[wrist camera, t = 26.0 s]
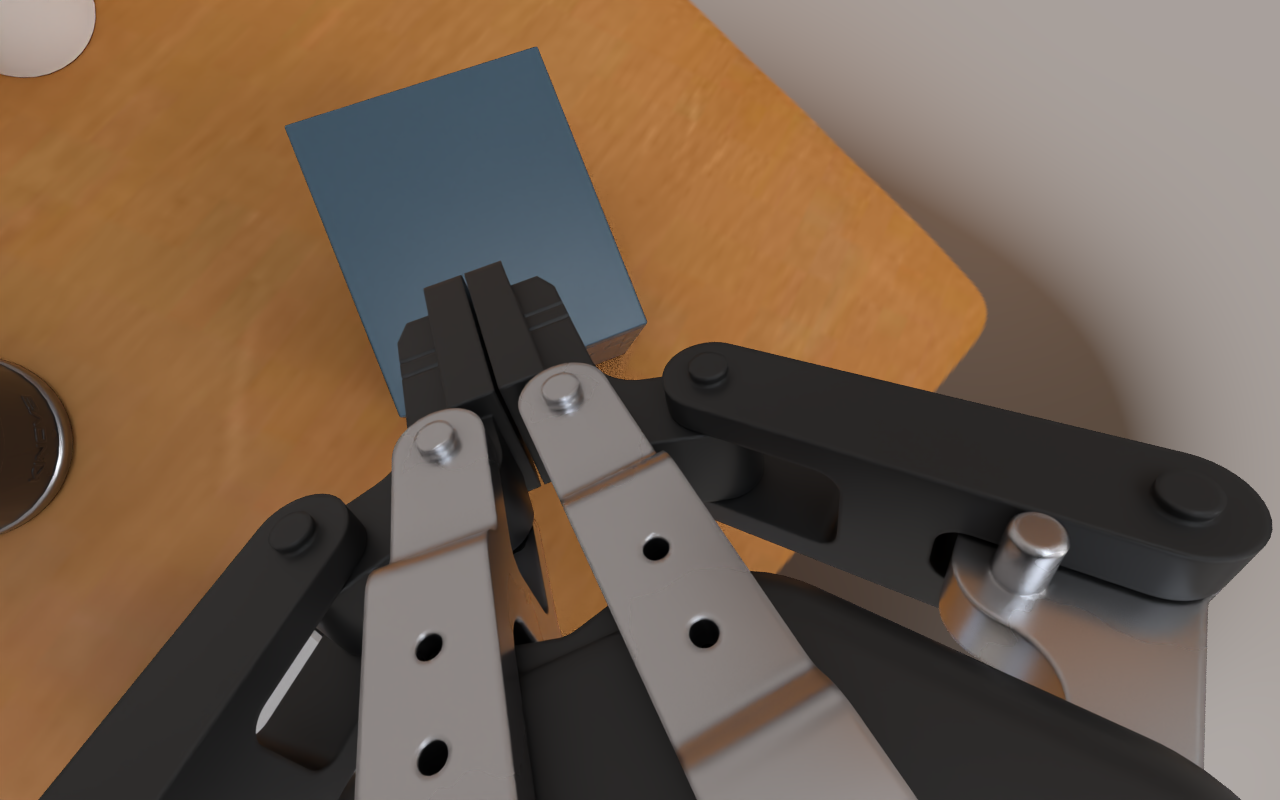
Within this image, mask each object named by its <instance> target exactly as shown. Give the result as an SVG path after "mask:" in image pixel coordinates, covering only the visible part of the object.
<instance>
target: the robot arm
mask: <svg viewBox="0 0 1280 800" xmlns="http://www.w3.org/2000/svg"><path fill="white" fill-rule="evenodd" d="M464 275H465V279H466V282H467V285H466V283H465V280H464V279H463V277H462V275H459V276H456V277H454V278H451V279H448V280H445V281H442V282H440V283H437V284H434V285H431V286H428V287H426V288H424V289H423V290H424V296H425V301H426V306H427V311H428V316H425V317H423V318H420V319H417V320H414V321H412V322H409V323H406V325H405V328H404V330H403V332H402V334H401V336H400V338H399V341H398V343H397V346H398V354H399V362H400V364H401V365H400V370H401V377H402V379H403V380H402V387H403V395H404V403H405V412H406V420H407V428H408V429H407V430H406V431H405V432H404V433H403V434H402V435H401V437H400V438H399V439H398V441H397V443H396V445H395V447H394V450H393V454H392V471H391V472H390V474H388V475H387V476H386V477H385V478H384V479H383V480H382V481H380V482H379V483H378V484H376V485H375V486H374V487H372V488H371V489H369V490H368V491H366V492H365V493H363V494H362V495H360V496H359V497H357V498H356V499H354V500H353V501H351V502H350V503H348V504H347V505H345V504H344V503H343V502H342V500H341V499H339V498H337V497H336V496H333V495H330V494H314V495H309V496H305V497H302V498H300V499H297V500H295V501H293V502H291V503H289V504H287V505H286V506H284V507H282V508H281V509H279V510H278V511H277V512H275V513H274V514H273V515H272V516H271V517H269V518H268V519H267V520H266V521H265V522H264V523H263V524H262V526H261V527H260V528H259V529H258V530H257V531H256V533H255V534H254V535H253V536H252V538H251V539H250V540H249V541H248V543H247V544H246V545H245V546H244V547H243V549H242V550H241V551H240V552H239V554H238V555H237V556H236V557H235V559H234V560H233V561H232V562H231V563H230V565H229V566H228V567H227V568H226V570H225V571H224V572H223V573H222V575H221V576H220V577H219V578H218V579H217V581H216V582H215V583H214V584H213V586H212V587H211V588H210V589H209V591H208V592H207V593H206V594H205V595H204V597H203V598H202V599H201V600H200V602H199V603H198V604H197V605H196V607H195V608H194V609H193V610H192V611H191V613H190V614H189V615H188V616H187V618H186V619H185V620H184V621H183V623H182V624H181V625H180V626H179V627H178V629H177V630H176V631H175V632H174V634H173V635H172V636H171V637H170V639H169V640H168V641H167V642H166V643H165V645H164V646H163V647H162V648H161V650H160V651H159V652H158V653H157V655H156V656H155V657H154V658H153V659H152V661H151V662H150V663H149V664H148V666H147V667H146V668H145V669H144V671H143V672H142V673H141V674H140V675H139V677H138V678H137V679H136V680H135V682H134V683H133V684H132V685H131V687H130V688H129V689H128V690H127V692H126V693H125V694H124V695H123V696H122V698H121V699H120V700H119V701H118V703H117V704H116V705H115V706H114V708H113V709H112V710H111V711H110V712H109V714H108V715H107V716H106V717H105V719H104V720H103V721H102V722H101V724H100V725H99V726H98V727H97V728H96V730H95V731H94V732H93V733H92V735H91V736H90V737H89V738H88V740H87V741H86V742H85V743H84V744H83V746H82V747H81V748H80V749H79V751H78V752H77V753H76V754H75V756H74V757H73V758H72V759H71V760H70V762H69V763H68V764H67V765H66V767H65V768H64V769H63V770H62V772H61V773H60V774H59V775H58V776H57V778H56V779H55V780H54V781H53V783H52V784H51V785H50V786H49V788H48V789H47V790H46V791H45V792H44V794H43V795H42V796H41V797H40V799H39V800H1241V799H1240V798H1238V797H1237V796H1236V795H1235V794H1234V793H1233V792H1232V791H1231V790H1229V789H1228V788H1227V787H1226V786H1224V785H1223V784H1222V783H1220V782H1219V781H1218V780H1217V779H1215V778H1214V777H1212V776H1211V775H1210V774H1209V773H1207V772H1206V771H1205V770H1204V740H1205V701H1206V662H1207V660H1206V659H1207V624H1208V621H1207V620H1208V605H1209V602H1210V601H1211V600H1212V599H1213V598H1214V597H1215V596H1216V595H1217V594H1218V593H1219V592H1220V591H1221V590H1222V588H1224V587H1225V586H1226V585H1227V584H1228V583H1229V582H1230V581H1231V580H1232V579H1233V578H1234V577H1235V576H1236V575H1237V574H1238V573H1239V572H1240V571H1241V570H1242V569H1243V568H1244V567H1245V566H1246V565H1247V564H1248V562H1250V561H1251V560H1252V558H1253V557H1255V555H1256V554H1257V553H1258V552H1259V551H1260V550H1261V549H1262V548H1263V547H1264V546H1265V545H1266V544H1267V542H1268V541H1269V539H1270V537H1271V533H1272V519H1271V516H1270V513H1269V510H1268V508H1267V506H1266V505H1265V503H1264V501H1263V500H1262V499H1261V497H1260V496H1259V495H1258V494H1257V492H1256V491H1255V490H1254V489H1253V488H1252V487H1250V485H1249V484H1247V483H1246V482H1245V481H1244V480H1242V479H1241V478H1240V477H1238V476H1237V475H1236V474H1234V473H1232V472H1230V471H1229V470H1227V469H1226V468H1224V467H1222V466H1220V465H1218V464H1216V463H1214V462H1212V461H1209V460H1206V459H1204V458H1201V457H1198V456H1195V455H1191V454H1188V453H1184V452H1180V451H1175V450H1171V449H1167V448H1163V447H1159V446H1155V445H1151V444H1146V443H1142V442H1138V441H1134V440H1130V439H1125V438H1121V437H1117V436H1113V435H1109V434H1105V433H1100V432H1096V431H1092V430H1088V429H1084V428H1080V427H1075V426H1071V425H1067V424H1062V423H1059V422H1054V421H1050V420H1046V419H1042V418H1038V417H1034V416H1029V415H1025V414H1021V413H1016V412H1013V411H1009V410H1004V409H1000V408H996V407H992V406H987V405H983V404H979V403H975V402H971V401H966V400H963V399H958V398H954V397H950V396H945V395H941V394H937V393H933V392H929V391H925V390H921V389H917V388H912V387H908V386H904V385H900V384H896V383H892V382H887V381H883V380H879V379H875V378H871V377H866V376H862V375H858V374H854V373H850V372H846V371H841V370H837V369H833V368H829V367H825V366H820V365H816V364H812V363H808V362H804V361H800V360H795V359H791V358H787V357H783V356H779V355H774V354H770V353H766V352H762V351H758V350H754V349H749V348H745V347H741V346H737V345H733V344H728V343H722V342H709V343H702V344H697V345H694V346H691V347H689V348H686V349H684V350H682V351H681V352H679V353H678V354H676V355H675V356H674V357H673V358H672V359H671V360H670V361H669V362H668V363H667V365H666V367H665V369H664V371H663V375H662V377H657V378H650V379H643V380H623V379H617V378H614V377H611V376H608V375H606V374H604V373H603V372H601V371H600V370H599V369H598V368H597V367H596V366H595V364H594V363H593V361H592V359H591V357H590V355H589V353H588V351H587V349H586V347H585V345H584V343H583V341H582V339H581V337H580V335H579V333H578V331H577V330H576V328H575V326H574V324H573V322H572V320H571V318H570V316H569V314H568V312H567V310H566V308H565V306H564V304H563V302H562V300H561V298H560V296H559V294H558V292H557V290H556V288H555V286H554V285H552V284H551V283H549V282H547V281H545V280H544V279H542V278H540V277H538V276H535V277H532V278H530V279H527V280H524V281H521V282H519V283H516V284H513V285H510V282H509V280H508V277H507V275H506V272H505V270H504V267H503V265H502V262H501V261H498V262H495V263H492V264H490V265H487V266H484V267H481V268H478V269H476V270H473V271H470V272H467V273H464ZM467 286H468V287H467ZM72 449H73V438H72V430H71V425H70V421H69V418H68V415H67V413H66V410H65V408H64V406H63V404H62V403H61V401H60V399H59V398H58V396H57V395H56V394H55V393H54V391H53V390H52V389H51V388H50V387H49V386H48V385H47V384H46V383H45V382H44V381H43V380H42V379H40V378H39V377H38V376H37V375H35V374H34V373H32V372H31V371H29V370H27V369H25V368H23V367H21V366H19V365H16V364H14V363H11V362H8V361H5V360H1V359H0V534H3V533H5V532H8V531H11V530H13V529H15V528H17V527H19V526H21V525H23V524H24V523H26V522H28V521H29V520H31V519H32V518H33V517H35V516H36V515H37V514H38V513H40V512H41V511H42V510H43V509H44V508H45V507H46V506H47V505H48V504H49V503H50V502H51V500H52V499H53V498H54V497H55V495H56V494H57V492H58V491H59V489H60V488H61V486H62V484H63V482H64V480H65V478H66V475H67V473H68V470H69V466H70V463H71V458H72ZM533 461H534V462H533ZM534 463H535V465H536V467H537V469H538V471H539V473H540V475H541V477H542V480H543V482H544V484H547V483H549V482H552V484H553V486H554V488H555V490H556V493H557V495H558V497H559V499H560V502H561V504H562V506H563V508H564V511H565V513H566V515H567V517H568V519H569V521H570V524H571V526H572V528H573V530H574V532H575V535H576V537H577V539H578V541H579V543H580V545H581V548H582V550H583V552H584V554H585V556H586V558H587V561H588V563H589V565H590V567H591V569H592V572H593V574H594V576H595V578H596V580H597V582H598V585H599V587H600V589H601V591H602V593H603V596H604V598H605V600H606V602H607V604H608V606H607V607H606V608H605V609H603V610H602V611H601V612H599V613H598V614H597V615H595V616H594V617H593V618H591V619H590V620H589V621H587V622H586V623H585V624H583V625H582V626H581V627H579V628H578V629H577V630H575V631H574V632H572V633H571V634H569V635H567V636H564V637H562V634H561V631H560V628H559V624H558V620H557V616H556V611H555V606H554V601H553V596H552V591H551V586H550V581H549V576H548V571H547V566H546V561H545V556H544V551H543V546H542V541H541V536H540V530H539V527H538V525H537V523H536V521H535V519H534V512H533V507H532V504H531V500H530V497H529V494H528V491H530V490H533V489H535V488H538V487H540V486H541V484H540V481H539V478H538V475H537V471H536V468H535V465H534ZM715 520H716V521H719V522H721V523H724V524H726V525H729V526H732V527H734V528H737V529H739V530H742V531H744V532H747V533H749V534H752V535H754V536H757V537H759V538H762V539H764V540H767V541H770V542H772V543H775V544H777V545H780V546H782V547H785V548H787V549H790V550H792V551H795V552H797V553H800V554H803V555H805V556H808V557H810V558H813V559H815V560H818V561H820V562H823V563H825V564H828V565H830V566H833V567H836V568H838V569H841V570H843V571H846V572H849V573H851V574H853V575H856V576H858V577H861V578H863V579H866V580H869V581H871V582H874V583H876V584H879V585H881V586H884V587H886V588H889V589H892V590H894V591H896V592H899V593H902V594H904V595H907V596H909V597H912V598H914V599H917V600H919V601H922V602H924V603H927V604H930V605H932V606H935V607H937V608H939V610H940V615H941V618H942V621H943V623H944V625H945V627H946V629H947V630H948V632H949V633H950V635H951V636H952V637H953V638H954V640H955V641H956V642H957V643H958V644H959V645H960V646H961V647H962V648H963V649H965V650H966V651H967V652H969V653H970V654H971V655H973V656H975V657H976V658H978V659H980V660H982V661H983V662H985V663H987V664H989V665H991V666H992V667H991V666H989V665H986V664H985V663H983V662H980V661H978V660H976V659H974V658H972V657H969V656H967V655H965V654H963V653H961V652H958V651H956V650H954V649H952V648H950V647H947V646H945V645H943V644H941V643H939V642H936V641H934V640H932V639H930V638H927V637H925V636H923V635H921V634H919V633H916V632H914V631H912V630H910V629H908V628H905V627H903V626H901V625H899V624H897V623H894V622H892V621H890V620H888V619H886V618H883V617H881V616H879V615H877V614H875V613H873V612H870V611H868V610H866V609H863V608H861V607H859V606H857V605H855V604H853V603H851V602H848V601H846V600H844V599H842V598H839V597H837V596H835V595H833V594H831V593H828V592H826V591H824V590H822V589H820V588H817V587H815V586H813V585H810V584H808V583H805V582H803V581H800V580H797V579H793V578H790V577H787V576H783V575H778V574H772V573H767V572H754V571H749V569H748V568H747V567H746V565H745V564H744V562H743V561H742V559H741V558H740V556H739V555H738V553H737V552H736V551H735V549H734V548H733V546H732V545H731V543H730V542H729V540H728V539H727V537H726V536H725V534H724V533H723V532H722V530H721V529H720V527H719V526H718V524H717V523H716V521H715ZM316 628H317V629H318V630H320V631H321V632H322V633H323V634H324V635H323V637H322V638H321V640H320V641H319V643H318V644H317V646H316V648H315V649H314V651H313V652H312V654H311V655H310V657H309V658H308V660H307V661H306V663H305V664H304V666H303V668H302V669H301V671H300V672H299V674H298V675H297V677H296V678H295V680H294V681H293V683H292V684H291V686H290V688H289V689H288V691H287V692H286V694H285V695H284V697H283V698H282V700H281V701H280V703H279V704H278V706H277V708H276V709H275V711H274V712H273V714H272V715H271V717H270V718H269V720H268V721H267V723H266V724H265V726H264V727H263V728H262V729H261V730H260V731H259V732H258V733H257V734H256V726H257V721H258V718H259V715H260V713H261V711H262V709H263V707H264V706H265V704H266V702H267V701H268V699H269V698H270V696H271V695H272V693H273V692H274V690H275V689H276V687H277V686H278V684H279V683H280V681H281V680H282V678H283V677H284V675H285V674H286V672H287V671H288V669H289V668H290V666H291V665H292V663H293V662H294V660H295V659H296V657H297V656H298V654H299V653H300V651H301V650H302V648H303V647H304V645H305V644H306V642H307V641H308V639H309V638H310V636H311V635H312V633H313V632H314V630H315V629H316ZM355 770H356V771H355ZM353 773H354V774H353Z"/></svg>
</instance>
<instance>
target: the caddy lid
mask: <svg viewBox="0 0 1280 800" xmlns="http://www.w3.org/2000/svg"><path fill="white" fill-rule="evenodd" d="M285 130H286V132H287V135H288V137H289V140H290V142H291V145H292V147H293V150H294V152H295V155H296V157H297V160H298V162H299V165H300V167H301V170H302V172H303V175H304V177H305V180H306V182H307V185H308V187H309V190H310V192H311V195H312V197H313V200H314V203H315V205H316V208H317V210H318V213H319V215H320V218H321V220H322V223H323V225H324V228H325V230H326V233H327V235H328V238H329V240H330V243H331V245H332V248H333V250H334V253H335V255H336V258H337V260H338V263H339V265H340V268H341V270H342V273H343V275H344V278H345V280H346V283H347V285H348V288H349V291H350V293H351V296H352V298H353V301H354V303H355V306H356V308H357V311H358V313H359V316H360V318H361V321H362V323H363V326H364V328H365V331H366V333H367V336H368V338H369V341H370V343H371V346H372V348H373V351H374V353H375V356H376V358H377V361H378V363H379V366H380V368H381V371H382V374H383V376H384V379H385V381H386V384H387V386H388V389H389V391H390V394H391V396H392V399H393V401H394V404H395V406H396V409H397V411H398V414H399V416H400V417H404V418H406V412H405V403H404V395H403V387H402V380H403V379H402V377H401V370H400V365H401V364H400V362H399V354H398V346H397V343H398V341H399V338H400V336H401V334H402V332H403V330H404V328H405V325H406V323H409V322H412V321H414V320H417V319H420V318H423V317H425V316H428V311H427V306H426V301H425V296H424V290H423V289H424V288H426V287H428V286H431V285H434V284H437V283H440V282H442V281H445V280H448V279H451V278H454V277H456V276H459V275H462V277H463V279H464V280H465V283H466V285H467V282H466V279H465V275H464V273H467V272H470V271H473V270H476V269H478V268H481V267H484V266H487V265H490V264H492V263H495V262H498V261H501V262H502V265H503V267H504V270H505V272H506V275H507V277H508V280H509V282H510V285H513V284H516V283H519V282H521V281H524V280H527V279H530V278H532V277H535V276H538V277H540V278H542V279H544V280H545V281H547V282H549V283H551V284H552V285H554V286H555V288H556V290H557V292H558V294H559V296H560V298H561V300H562V302H563V304H564V306H565V308H566V310H567V312H568V314H569V316H570V318H571V320H572V322H573V324H574V326H575V328H576V330H577V331H578V333H579V335H580V337H581V339H582V341H583V343H584V345H585V347H586V349H587V348H589V347H592V346H595V345H597V344H600V343H602V342H605V341H608V340H610V339H613V338H616V337H618V336H621V335H623V334H626V333H629V332H631V331H634V330H636V329H639V328H642V327H644V326H645V325H646V324H647V320H646V318H645V315H644V313H643V310H642V308H641V305H640V303H639V300H638V298H637V295H636V293H635V290H634V288H633V285H632V283H631V280H630V278H629V275H628V273H627V270H626V267H625V265H624V262H623V260H622V257H621V255H620V252H619V250H618V247H617V245H616V242H615V240H614V237H613V235H612V232H611V230H610V227H609V225H608V222H607V220H606V217H605V215H604V212H603V210H602V207H601V205H600V202H599V200H598V197H597V195H596V192H595V190H594V187H593V185H592V182H591V180H590V177H589V175H588V172H587V170H586V167H585V165H584V162H583V160H582V157H581V155H580V152H579V150H578V147H577V145H576V142H575V140H574V137H573V135H572V132H571V130H570V127H569V125H568V122H567V120H566V117H565V115H564V112H563V110H562V107H561V105H560V102H559V100H558V97H557V95H556V92H555V90H554V87H553V85H552V82H551V80H550V77H549V75H548V72H547V70H546V67H545V65H544V62H543V60H542V57H541V55H540V52H539V50H538V48H537V47H533V48H530V49H527V50H523V51H520V52H517V53H514V54H511V55H508V56H504V57H501V58H498V59H495V60H492V61H489V62H485V63H482V64H479V65H476V66H473V67H470V68H466V69H463V70H460V71H457V72H454V73H450V74H447V75H444V76H441V77H438V78H435V79H431V80H428V81H425V82H422V83H419V84H416V85H412V86H409V87H406V88H403V89H400V90H397V91H393V92H390V93H387V94H384V95H381V96H378V97H374V98H371V99H368V100H365V101H362V102H359V103H355V104H352V105H349V106H346V107H343V108H340V109H336V110H333V111H330V112H327V113H324V114H321V115H317V116H314V117H311V118H308V119H305V120H302V121H298V122H295V123H292V124H289V125H286V126H285ZM467 287H468V286H467Z"/></svg>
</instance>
